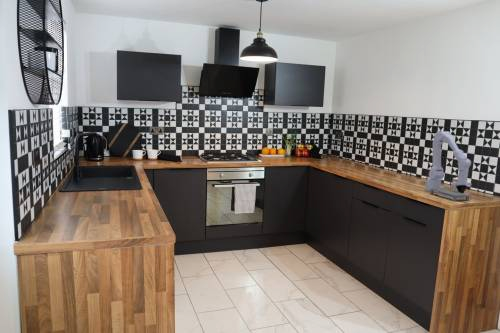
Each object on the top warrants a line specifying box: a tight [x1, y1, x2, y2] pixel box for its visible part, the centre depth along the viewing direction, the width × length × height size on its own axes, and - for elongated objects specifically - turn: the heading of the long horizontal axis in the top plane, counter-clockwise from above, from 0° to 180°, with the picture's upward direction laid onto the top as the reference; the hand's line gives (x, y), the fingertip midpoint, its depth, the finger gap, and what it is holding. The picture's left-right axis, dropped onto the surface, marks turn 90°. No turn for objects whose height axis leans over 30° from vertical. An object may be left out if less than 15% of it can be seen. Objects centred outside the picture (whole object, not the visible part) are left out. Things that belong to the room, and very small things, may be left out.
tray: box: [436, 192, 466, 201], centre depth 266 cm, size 12×15×2 cm
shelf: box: [429, 187, 471, 203], centre depth 265 cm, size 12×22×4 cm, turn 17°
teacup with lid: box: [450, 176, 458, 192], centre depth 290 cm, size 12×9×12 cm
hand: (460, 196), depth 268 cm, fingers closed
